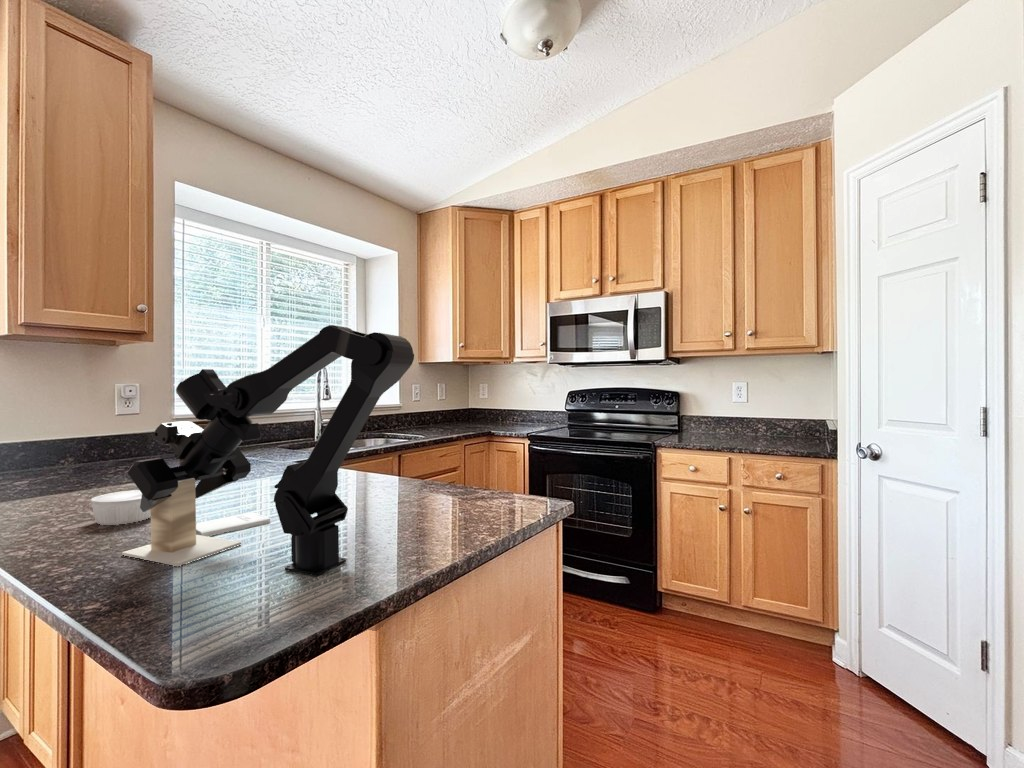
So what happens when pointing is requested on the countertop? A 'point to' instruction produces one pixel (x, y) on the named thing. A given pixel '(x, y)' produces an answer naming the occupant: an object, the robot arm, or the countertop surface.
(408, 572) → the countertop surface
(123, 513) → the ramekin
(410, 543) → the countertop surface
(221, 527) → the external hard drive
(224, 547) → the mat
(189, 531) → the post
